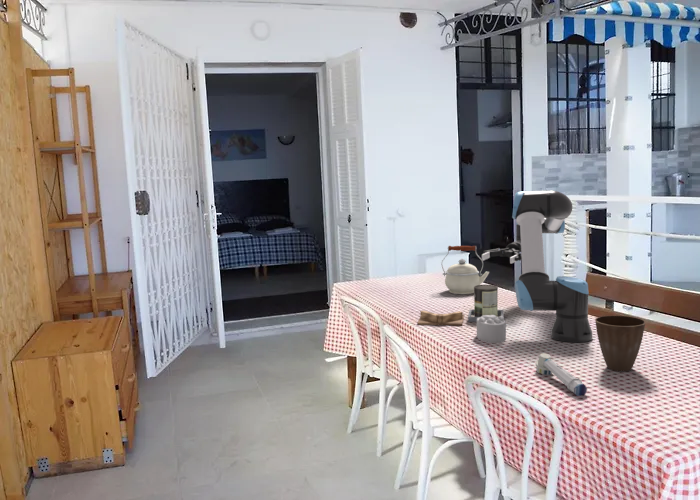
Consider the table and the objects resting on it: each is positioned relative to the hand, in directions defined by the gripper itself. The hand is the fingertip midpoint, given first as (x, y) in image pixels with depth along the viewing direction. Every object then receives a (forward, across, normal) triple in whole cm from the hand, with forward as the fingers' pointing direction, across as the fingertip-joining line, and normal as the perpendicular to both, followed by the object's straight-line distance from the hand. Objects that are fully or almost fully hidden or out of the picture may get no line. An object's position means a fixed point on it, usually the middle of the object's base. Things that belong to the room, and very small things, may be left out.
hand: (496, 259), depth 280 cm
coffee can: (+10, 0, -25) cm, 27 cm away
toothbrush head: (+73, -55, -19) cm, 93 cm away
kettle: (-36, +35, -29) cm, 58 cm away
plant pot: (+50, -66, -20) cm, 86 cm away
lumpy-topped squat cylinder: (+39, -16, -22) cm, 48 cm away
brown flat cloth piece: (+24, +15, -24) cm, 37 cm away
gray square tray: (+10, 0, -25) cm, 27 cm away
